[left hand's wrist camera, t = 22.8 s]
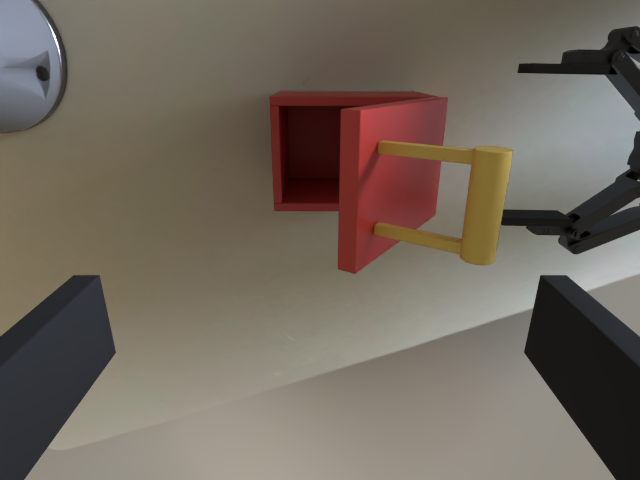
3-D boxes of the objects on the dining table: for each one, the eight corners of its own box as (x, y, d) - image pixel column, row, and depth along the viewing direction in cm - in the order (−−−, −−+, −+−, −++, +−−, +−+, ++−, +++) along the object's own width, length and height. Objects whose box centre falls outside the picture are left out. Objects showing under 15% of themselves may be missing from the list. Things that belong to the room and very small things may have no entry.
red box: (283, 182, 48) (273, 211, 38) (280, 90, 44) (269, 96, 35) (405, 182, 48) (426, 211, 38) (412, 90, 44) (438, 96, 35)
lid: (337, 269, 27) (476, 309, 23) (340, 109, 24) (507, 118, 19) (421, 212, 38) (527, 232, 33) (432, 96, 34) (553, 101, 30)
